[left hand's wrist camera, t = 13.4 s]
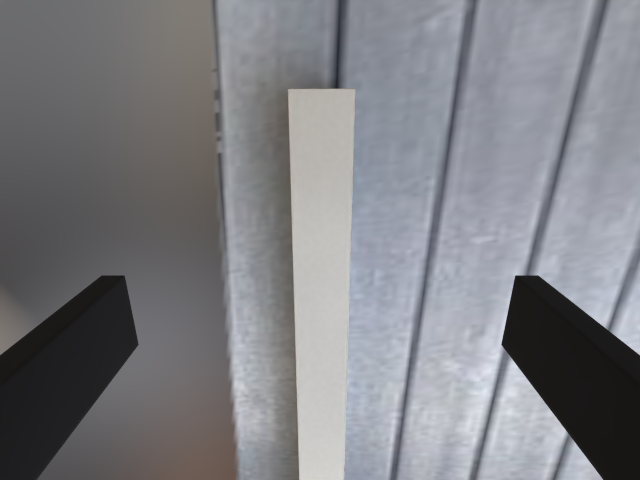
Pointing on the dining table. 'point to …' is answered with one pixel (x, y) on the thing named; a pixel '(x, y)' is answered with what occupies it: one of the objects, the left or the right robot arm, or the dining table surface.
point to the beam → (321, 271)
